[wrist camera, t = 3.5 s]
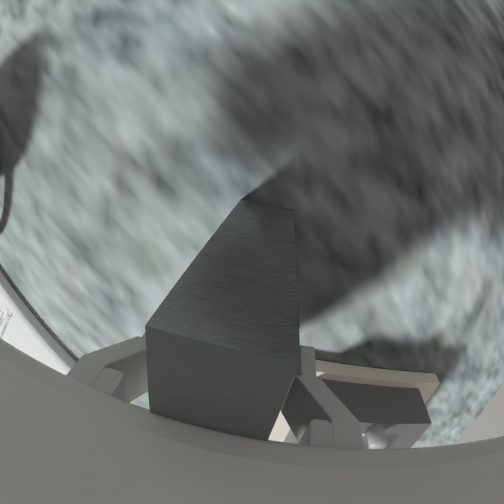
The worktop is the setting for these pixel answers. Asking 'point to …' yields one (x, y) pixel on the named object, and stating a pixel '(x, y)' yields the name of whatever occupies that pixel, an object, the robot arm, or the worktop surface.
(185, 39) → the worktop surface
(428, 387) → the dock
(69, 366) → the external hard drive
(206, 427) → the block
